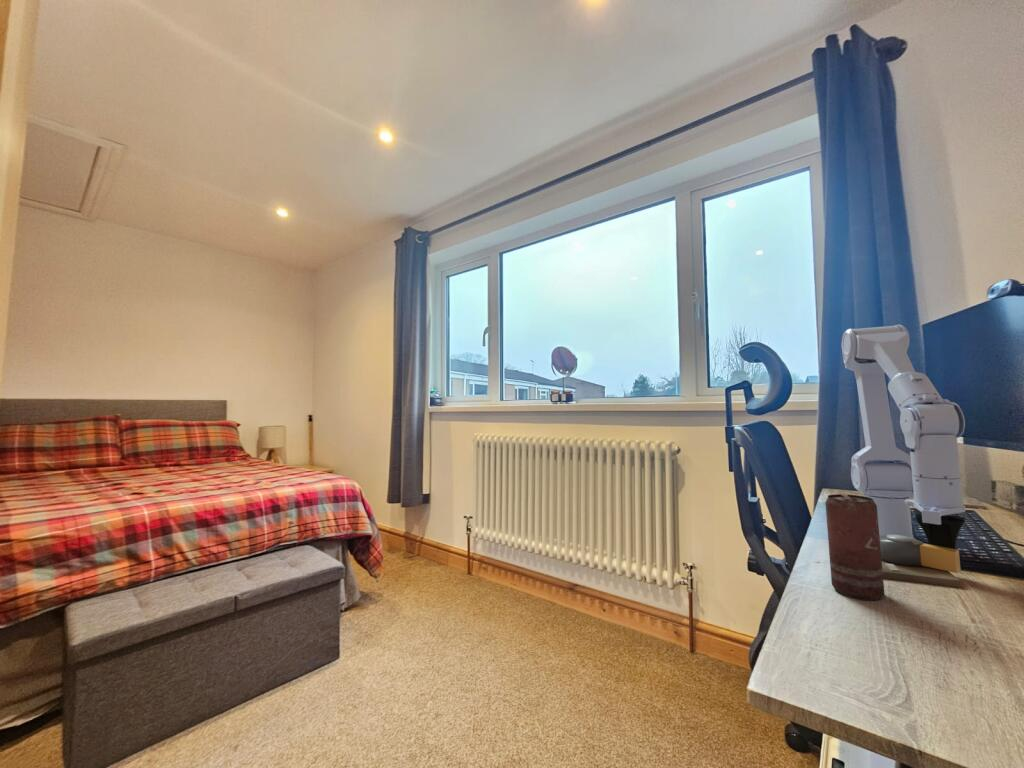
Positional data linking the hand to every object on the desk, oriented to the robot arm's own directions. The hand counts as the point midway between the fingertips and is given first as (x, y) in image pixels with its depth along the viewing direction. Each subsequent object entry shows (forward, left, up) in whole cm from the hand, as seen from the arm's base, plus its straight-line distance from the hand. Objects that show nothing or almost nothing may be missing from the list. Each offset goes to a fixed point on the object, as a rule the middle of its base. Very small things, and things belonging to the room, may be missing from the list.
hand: (943, 560), depth 69 cm
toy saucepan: (0, -3, -1) cm, 3 cm away
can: (+14, -14, -2) cm, 20 cm away
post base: (-1, -5, -2) cm, 6 cm away
